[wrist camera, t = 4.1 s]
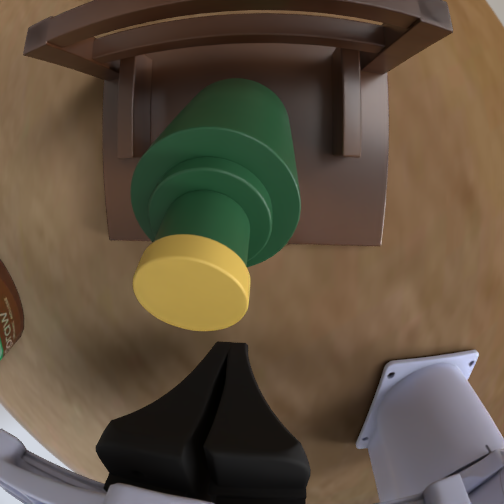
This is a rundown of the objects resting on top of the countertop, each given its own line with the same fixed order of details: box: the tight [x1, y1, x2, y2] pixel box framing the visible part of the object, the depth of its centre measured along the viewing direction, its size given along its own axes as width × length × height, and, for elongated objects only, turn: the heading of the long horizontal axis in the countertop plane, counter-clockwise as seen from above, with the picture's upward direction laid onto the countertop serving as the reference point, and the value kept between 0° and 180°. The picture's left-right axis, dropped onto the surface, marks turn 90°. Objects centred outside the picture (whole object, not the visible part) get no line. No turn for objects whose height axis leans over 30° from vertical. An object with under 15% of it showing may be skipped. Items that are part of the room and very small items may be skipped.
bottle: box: [130, 78, 301, 331], centre depth 9 cm, size 4×4×9 cm
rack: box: [23, 0, 453, 246], centre depth 10 cm, size 11×14×7 cm
